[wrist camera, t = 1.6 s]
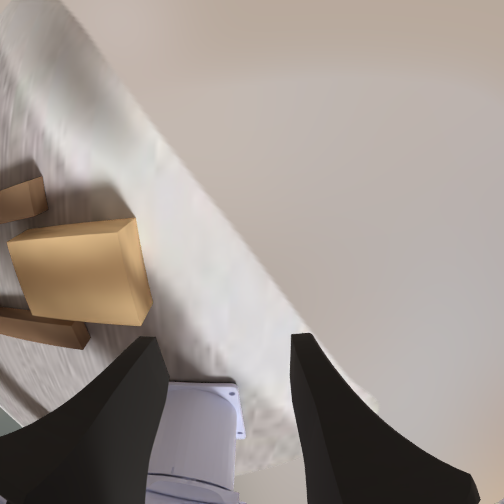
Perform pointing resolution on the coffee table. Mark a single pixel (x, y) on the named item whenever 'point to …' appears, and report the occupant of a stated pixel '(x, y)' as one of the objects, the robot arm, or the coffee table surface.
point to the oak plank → (84, 272)
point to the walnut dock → (22, 321)
